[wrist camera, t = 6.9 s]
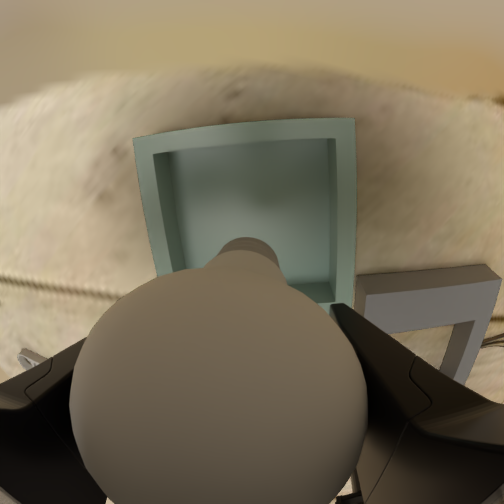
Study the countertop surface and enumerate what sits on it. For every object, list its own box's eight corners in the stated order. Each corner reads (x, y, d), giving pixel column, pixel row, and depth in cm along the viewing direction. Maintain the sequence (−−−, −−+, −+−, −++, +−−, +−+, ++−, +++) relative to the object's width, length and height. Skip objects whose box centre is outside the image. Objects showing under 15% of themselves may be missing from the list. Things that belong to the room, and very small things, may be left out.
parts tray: (341, 289, 20) (350, 315, 18) (180, 297, 21) (168, 322, 19) (341, 118, 16) (354, 117, 13) (152, 135, 17) (132, 138, 14)
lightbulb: (172, 187, 12) (-56, 377, 2) (326, 187, 12) (483, 446, 2) (186, 315, 15) (98, 535, 5) (315, 319, 14) (343, 565, 4)
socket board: (443, 391, 24) (452, 408, 22) (340, 409, 25) (344, 430, 23) (485, 264, 19) (502, 279, 17) (356, 275, 20) (366, 294, 18)
